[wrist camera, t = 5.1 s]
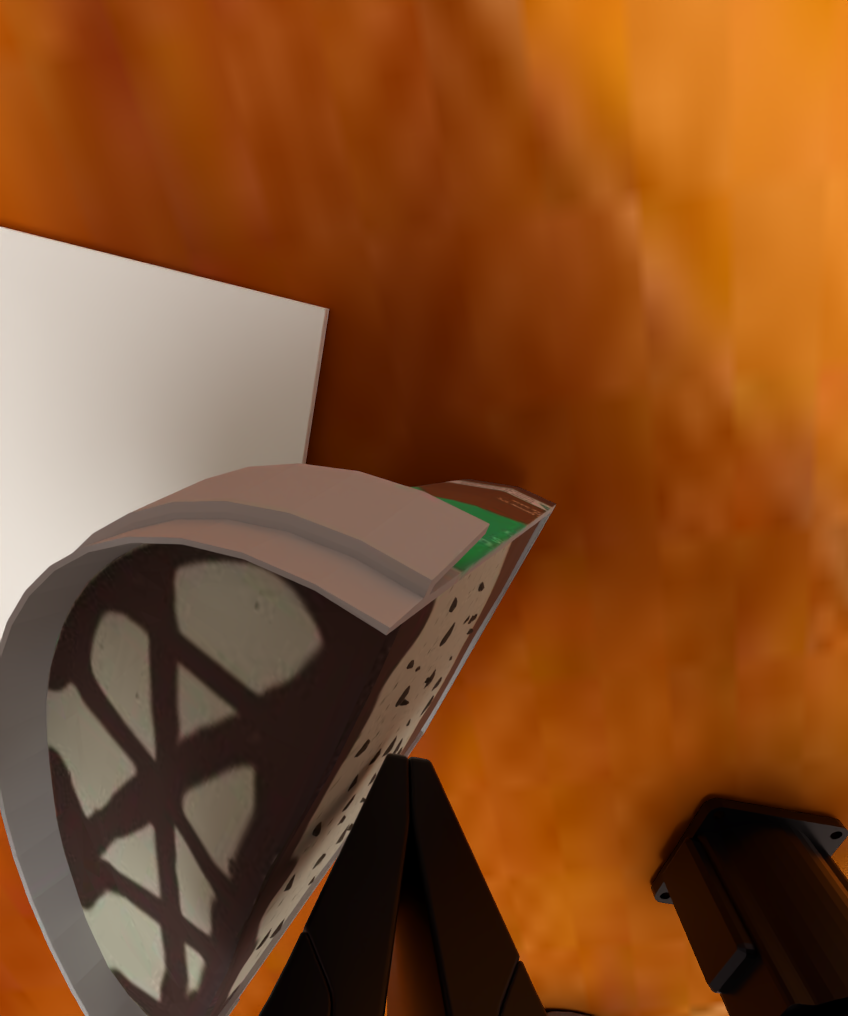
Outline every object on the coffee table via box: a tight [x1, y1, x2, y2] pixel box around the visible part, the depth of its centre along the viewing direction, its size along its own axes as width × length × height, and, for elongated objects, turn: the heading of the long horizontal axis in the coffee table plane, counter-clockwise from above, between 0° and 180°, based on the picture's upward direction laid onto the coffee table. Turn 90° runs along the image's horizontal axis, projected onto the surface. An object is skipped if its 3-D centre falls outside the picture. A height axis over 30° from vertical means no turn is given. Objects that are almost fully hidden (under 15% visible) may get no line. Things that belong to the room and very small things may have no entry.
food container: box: [0, 463, 556, 1016], centre depth 12 cm, size 12×6×10 cm, turn 157°
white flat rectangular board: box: [0, 226, 329, 641], centre depth 16 cm, size 11×15×1 cm
